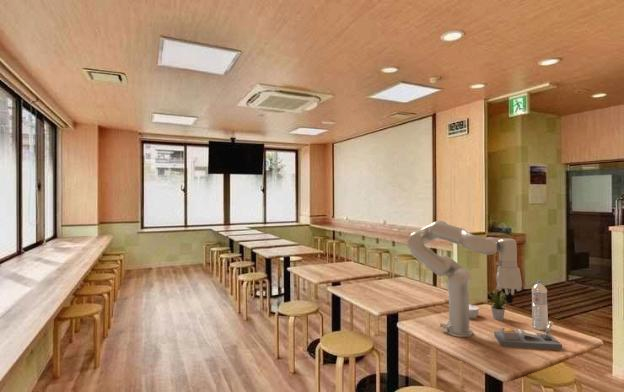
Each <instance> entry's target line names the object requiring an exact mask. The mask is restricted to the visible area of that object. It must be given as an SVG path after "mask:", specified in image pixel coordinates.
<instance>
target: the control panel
mask: <svg viewBox="0 0 624 392" xmlns="http://www.w3.org/2000/svg"><path fill="white" fill-rule="evenodd" d="M505 328H506V327H499V331H497V330H495V331H493V336H494V338H495V339H496V340H497V342H498V343H499V344H500V346H501V347H506V348H520V349H521V348H522V349H523V348H524V349H538V350H551V351H552V350H553V351H556V350H557V351H562V350H563V344H562V343H561V342H559V340H557V339H556V338H555V337H554V336H553V335H552V334H550V333H549V334H548V336H545V335H544V334H545V333H537V332H535V333H536V334H537V335H538V337H537V338H535V337H531V336H526V335H521V334H520V333H519V332H518V330H516V329H515V328H514V327H513V328H512V327H509V328H510V329H513V330H514V333H511V332H504V329H505Z"/></svg>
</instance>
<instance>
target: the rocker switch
mask: <svg viewBox="0 0 624 392" xmlns="http://www.w3.org/2000/svg"><path fill="white" fill-rule="evenodd" d="M517 332H519V333H520V334H521V335H526V336H531V337H535V338H537V337H538V335H537V334H536V333H537V332H534V331H532V330H526V329H521V328H518V329H517Z"/></svg>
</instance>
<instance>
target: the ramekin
mask: <svg viewBox="0 0 624 392" xmlns="http://www.w3.org/2000/svg"><path fill="white" fill-rule="evenodd" d="M479 311H480V308H479V307H478V306H477V305H474V304H471V303H469V319H476V318H477V317H478V315H479Z"/></svg>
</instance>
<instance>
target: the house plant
mask: <svg viewBox="0 0 624 392" xmlns="http://www.w3.org/2000/svg"><path fill="white" fill-rule="evenodd" d="M498 294H499V295H498ZM488 295H489V297H490V298H491V299H492V300H491V299H490V298H489V299H488V298H486V299H485V300H486V301H490V302H491V306H490V309H491V314H492V318H493V319H494V320H496V321H503V320H504V318H505V311H506V308H505V307H503V306H504V305H505V306H508V303H507V302H506V300H505V293H504V292H503V291H500V293H498V290H494V289H493V292H492V293H490V292H488Z"/></svg>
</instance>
